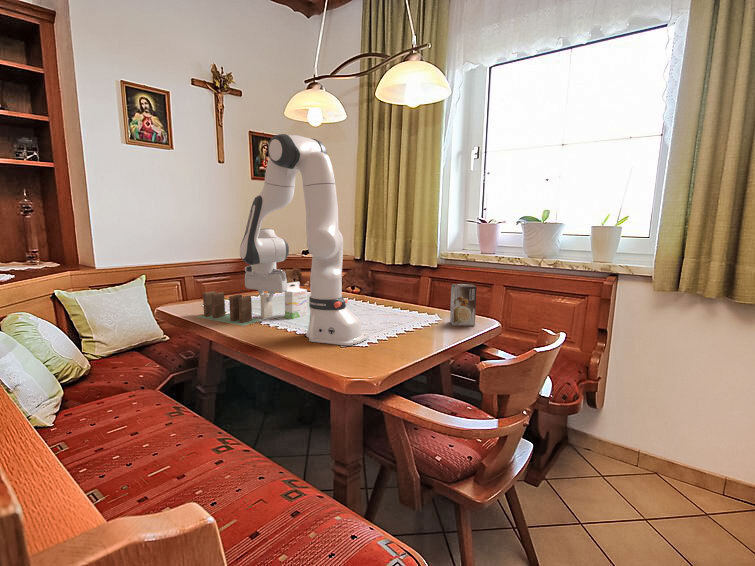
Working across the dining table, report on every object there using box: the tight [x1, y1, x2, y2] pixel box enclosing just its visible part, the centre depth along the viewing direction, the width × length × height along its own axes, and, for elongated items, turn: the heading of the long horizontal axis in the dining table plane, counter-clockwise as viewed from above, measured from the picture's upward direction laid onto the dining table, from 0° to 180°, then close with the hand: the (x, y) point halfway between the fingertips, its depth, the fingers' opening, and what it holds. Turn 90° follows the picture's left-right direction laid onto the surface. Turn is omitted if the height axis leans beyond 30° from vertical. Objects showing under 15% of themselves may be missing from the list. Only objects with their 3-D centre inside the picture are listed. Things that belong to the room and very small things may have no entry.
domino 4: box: [239, 295, 253, 323], centre depth 159 cm, size 2×5×10 cm, turn 153°
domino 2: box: [211, 291, 226, 318], centre depth 166 cm, size 2×5×10 cm, turn 153°
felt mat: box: [197, 313, 262, 327], centre depth 164 cm, size 27×10×1 cm, turn 63°
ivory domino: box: [259, 292, 274, 319], centre depth 167 cm, size 2×5×10 cm, turn 153°
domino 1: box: [202, 290, 217, 317], centre depth 168 cm, size 2×5×10 cm, turn 153°
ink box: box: [284, 281, 308, 320], centre depth 169 cm, size 9×5×15 cm, turn 143°
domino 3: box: [228, 294, 243, 321], centre depth 161 cm, size 2×5×10 cm, turn 153°
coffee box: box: [449, 283, 478, 326], centre depth 162 cm, size 9×6×16 cm
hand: (266, 301), depth 167 cm, fingers closed on ivory domino, 2 cm apart
